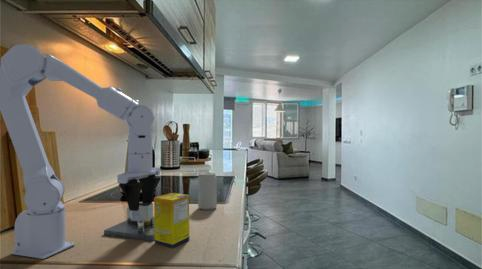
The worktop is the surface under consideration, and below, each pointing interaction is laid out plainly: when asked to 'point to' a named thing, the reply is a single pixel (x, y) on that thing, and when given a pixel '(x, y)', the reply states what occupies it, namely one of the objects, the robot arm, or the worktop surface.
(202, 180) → the beverage can
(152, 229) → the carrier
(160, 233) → the supplement box
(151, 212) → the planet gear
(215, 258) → the worktop surface
